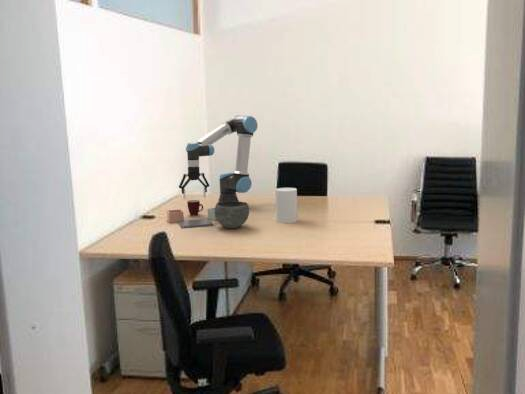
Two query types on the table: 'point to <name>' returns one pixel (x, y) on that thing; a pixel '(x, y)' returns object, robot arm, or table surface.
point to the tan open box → (175, 215)
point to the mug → (194, 207)
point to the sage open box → (211, 214)
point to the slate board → (195, 223)
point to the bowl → (231, 213)
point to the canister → (286, 205)
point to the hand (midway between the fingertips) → (194, 198)
